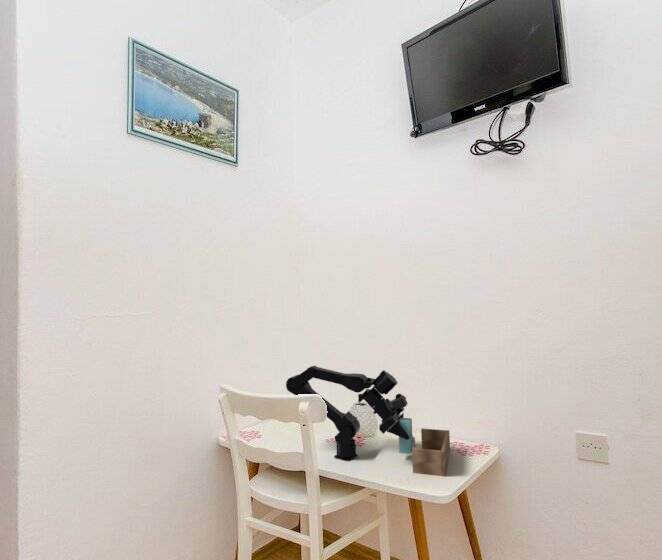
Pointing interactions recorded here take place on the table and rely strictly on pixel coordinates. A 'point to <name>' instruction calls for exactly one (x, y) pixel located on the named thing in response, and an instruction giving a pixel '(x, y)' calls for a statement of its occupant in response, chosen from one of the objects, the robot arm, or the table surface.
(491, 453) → the table surface
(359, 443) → the table surface
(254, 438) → the table surface
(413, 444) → the lighter
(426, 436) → the open box
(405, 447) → the pillar block
